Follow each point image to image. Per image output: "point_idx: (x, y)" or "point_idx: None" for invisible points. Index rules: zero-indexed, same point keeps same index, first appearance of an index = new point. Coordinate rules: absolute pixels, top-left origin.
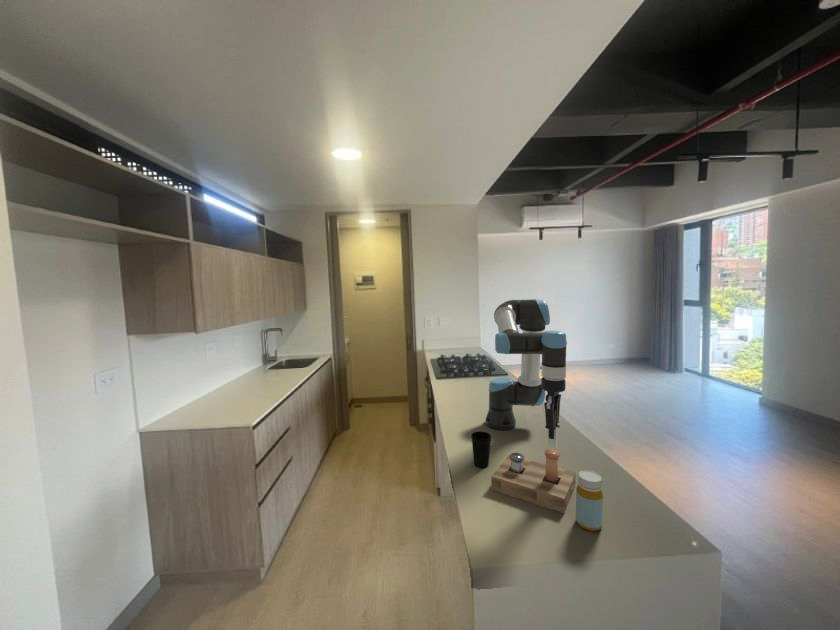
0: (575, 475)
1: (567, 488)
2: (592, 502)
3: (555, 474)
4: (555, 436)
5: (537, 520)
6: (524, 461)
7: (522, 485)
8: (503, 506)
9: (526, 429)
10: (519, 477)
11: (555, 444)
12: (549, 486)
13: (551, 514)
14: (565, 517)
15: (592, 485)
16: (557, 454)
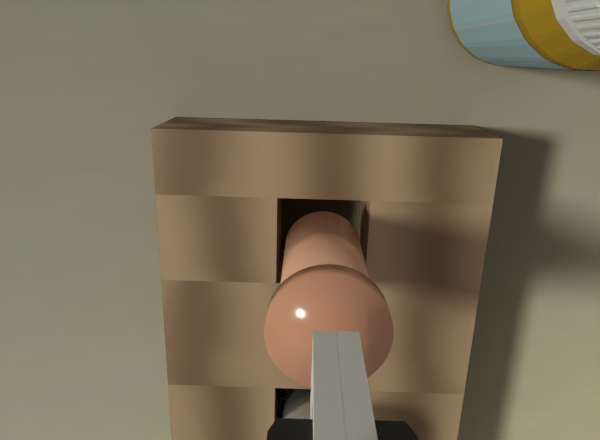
0: (163, 126)
1: (382, 143)
2: None
3: (352, 235)
4: (371, 425)
5: (574, 225)
6: (202, 411)
7: (467, 361)
8: (530, 371)
9: None
10: (392, 392)
11: (361, 360)
12: (409, 238)
13: (501, 179)
14: (498, 115)
15: None
16: (347, 290)
